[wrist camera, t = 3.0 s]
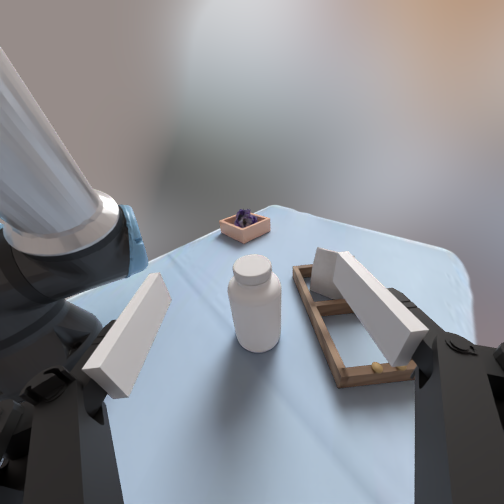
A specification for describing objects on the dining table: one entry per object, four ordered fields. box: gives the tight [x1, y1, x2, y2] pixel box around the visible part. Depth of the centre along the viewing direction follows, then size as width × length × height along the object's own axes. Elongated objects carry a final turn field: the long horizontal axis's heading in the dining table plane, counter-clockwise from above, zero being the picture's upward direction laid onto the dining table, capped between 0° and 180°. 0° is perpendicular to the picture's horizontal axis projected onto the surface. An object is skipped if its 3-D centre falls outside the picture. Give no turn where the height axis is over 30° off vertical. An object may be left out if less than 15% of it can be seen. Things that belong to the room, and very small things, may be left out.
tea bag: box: [310, 247, 355, 300], centre depth 37 cm, size 4×7×10 cm, turn 52°
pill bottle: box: [228, 254, 281, 353], centre depth 29 cm, size 8×8×15 cm
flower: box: [234, 209, 258, 228], centre depth 69 cm, size 9×9×10 cm
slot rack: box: [293, 264, 417, 388], centre depth 34 cm, size 24×12×3 cm, turn 3°
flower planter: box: [219, 213, 271, 244], centre depth 69 cm, size 13×14×5 cm
